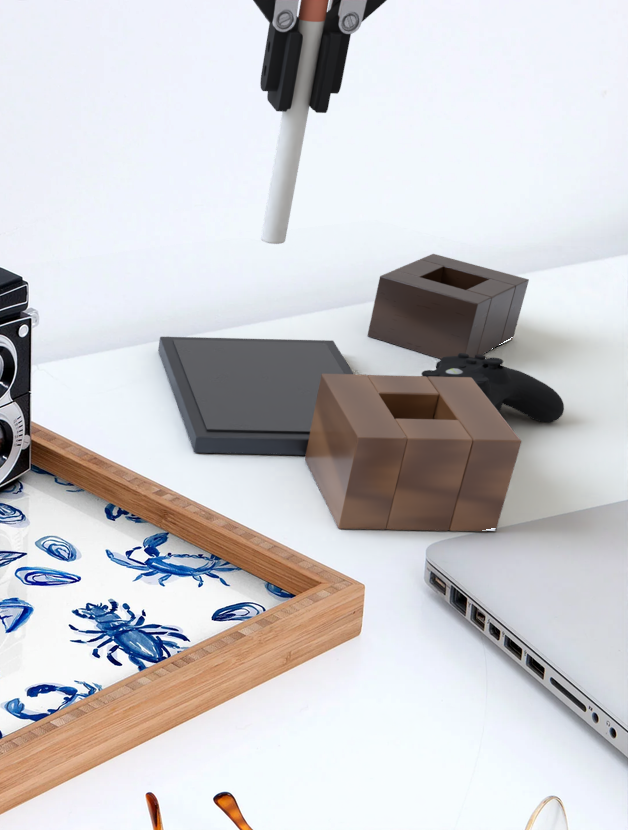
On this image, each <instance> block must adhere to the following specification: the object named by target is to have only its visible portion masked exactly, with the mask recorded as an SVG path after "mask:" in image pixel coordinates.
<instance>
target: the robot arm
mask: <svg viewBox="0 0 628 830" xmlns="http://www.w3.org/2000/svg"><path fill="white" fill-rule="evenodd" d="M252 1H253V2H254V3H255V5H256V7H257V9H259V11H260V12H261V13H262V15H263V16H264V18H265V19H266V20H267V22H268V31H267V37H266V42H265V47H264V48H265V49H264V55H263V62H262V67H261V74H260V85H259V86H260V90H261V91H262V92H267V98H266V99H267V102H269V104H270V105H271V107H272V108H273V109H274V110H275V111H276V112H281V113H282V112H286V111H287V109H290V108H291V105H292V100H293V94H294V88H295V82H296V77H297V71H298V65H299V59H300V54H301V48H302V42H303V35H302V34H301V33H300V32H299V31H298V25H299V18H298V11H299V10H298V9H299V3H300V2H299V1H300V0H252ZM387 1H388V0H329V2H328V8H327V13H326V19H325V22H324V28H323V32H322V38H321V44H320V49H319V55H318V60H317V66H316V71H315V77H314V83H313V88H312V94H311V99H310V105H309V108H311V110H312V111H314V113H317V114H326V113H327V112H328V110H329V104H330V100H331V94H335V95H337V94H339V92H340V90H341V88H342V83H343V78H344V74H345V67H346V62H347V56H348V51H349V46H350V41H351V36H352V34H355V33H356V32H357V31H358V30H359V29H360V27H361V25H362V23H363V22H364V21H365V20H366V19H367V18H369V17H370V16H371V15H372V14H373V13H374V12H375V11H377V10H378V9H379V8H380V7H381V6H382V5H384V4H385V2H387Z"/></svg>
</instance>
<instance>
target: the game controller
mask: <svg viewBox="0 0 628 830" xmlns="http://www.w3.org/2000/svg"><path fill="white" fill-rule="evenodd" d="M503 363H504V360H503V359H502V358H499V357H487V356H486V355H485V354H483V355H480V354H477V355H475V358H473V357H469V355H468V354H465V353H459V354H458V356H448V357H443V358H442V359H440V360H439V361H437V362H436V364H435V369H434V370H432V369H427V370H423V371H422V372H421V376H426V377H429V376H432V377H471V378H472V379H473V380H474V381H475V383H476V384H477V385H478V386H479V388H480V389H481V390H482V391H483V393H484V394H485V395H486V397H487V398H488V399H489V400H490V402H491V403H492V404H493V405H494V407H495V408H496V409H497V410H498V412H500V411H501V410H502V408H503V405H505V406H507V407H510V408H512V409H514V410H516V411H518V412H520V413H521V414H524V415H525V416H527V417H529V418H530V419H532V420H535V421H538V422H540V423H553V422H556V421H558V420H559V419H560V418H561V417H562V416H563V414H564V412H565V411H564V410H565V404H564V401H563V399H562V397H561V396H560V395H559V394H558V392H557V391H556V390H555V389H553V388H552V387H551V386H549V385H548V384H546V383H544V382H542V381H540V380H539V379H537V378H536V377H534V376H532V375H530V374H527V373H525V372H523V371H521V370H517V369H515V368H511V367H507V366H505V365H502V364H503Z"/></svg>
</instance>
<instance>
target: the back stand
mask: <svg viewBox="0 0 628 830" xmlns="http://www.w3.org/2000/svg"><path fill="white" fill-rule="evenodd" d="M529 281H530V280H529V279H528V278H525V277H522V276H518V275H514V274H510V273H506V272H503V271H499V270H495V269H492V268H488V267H484V266H480V265H477V264H473V263H470V262H465V261H463V260H459V259H455V258H452V257H451V258H450V257H448V256H443V255H440V254H436V253H431V254H429V255H427V256H424V257H422V258H420V259H416V260H415V261H413V262H409V263H408V264H405V265H403V266H400V267H398V268H396V269H394V270H391V271H388V272H386V273H384V274H382V275H380V276H379V279H378V284H377V289H376V293H375V299H374V303H373V307H372V311H371V316H370V321H369V326H368V331H367V337H369V338H373V339H376V340H379V341H382V342H386V343H389V344H392V345H394V346H398V347H401V348H405V349H407V350H408V349H409V350H411V351H414V352H417V353H420V354H424V355H427V356H430V357H433V358H437V359H440V360H441V359H442V358H443V357H448V356H458V354H459V353H465V354H468V355H469V357H473V358H475V355H477V354H480V355H482V354H483V355H485V354H487V353H489V352H490V351H489V350H491V349H492V348H495V347H496V346H498V345H499V344H501V343H503V342H504V341H506V340H508V339H510V338H511V337H513V336H514V337H515V333H516V329H517V325H518V322H519V318H520V314H521V311H522V307H523V304H524V300H525V296H526V293H527V289H528V285H529ZM514 337H513V338H514ZM498 347H499V346H498ZM496 348H497V347H496ZM496 348H495V349H496ZM488 351H489V352H488ZM491 351H492V350H491ZM486 352H487V353H486ZM484 353H485V354H484Z"/></svg>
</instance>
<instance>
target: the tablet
mask: <svg viewBox="0 0 628 830" xmlns="http://www.w3.org/2000/svg"><path fill="white" fill-rule="evenodd" d="M158 341H159V342H158V349H157V350H158V351H157V352H158V354H159V357H160V359H161V363H162V365H163V368H164V371H165V374H166V376H167V380H168V382H169V385H170V387H171V388H170V389H171V391H172V394H173V396H174V399H175V402H176V404H177V408H178V410H179V413H180V416H181V419H182V421H183V424H184V427H185V430H186V433H187V436H188V438H189V442H190V444H191V447H192V450H193V452H194V453H195V454H231V455H232V454H234V455H272V456H273V455H274V456H275V455H277V456H278V455H279V456H281V455H282V456H306V451H307V445H308V440H309V435H310V430H311V425H312V420H313V415H314V410H315V405H316V400H317V395H318V390H319V384H320V379H321V374H355V373H354V372H353V370H352V369H351V367H350V365H349V364H348V362H347V361H346V359H345V357H344V356H343V354H342V352H341V351H340V349H339V348H338V346H337V344H336V343H335V341H334V340H327V339H326V340H325V339H324V340H323V339H321V340H319V339H283V338H281V339H277V338H241V337H239V338H238V337H197V336H196V337H194V336H189V337H188V336H160V337H159V340H158Z"/></svg>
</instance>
